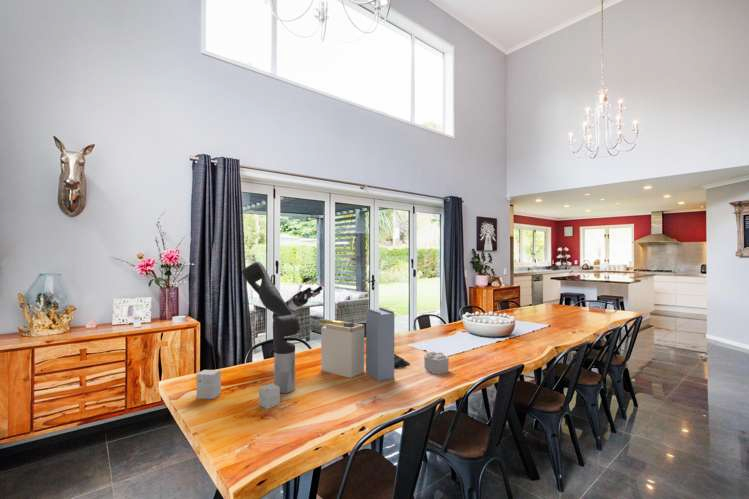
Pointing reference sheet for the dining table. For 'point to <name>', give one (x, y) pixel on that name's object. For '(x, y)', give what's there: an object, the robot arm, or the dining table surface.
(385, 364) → the post
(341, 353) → the upright beige carton
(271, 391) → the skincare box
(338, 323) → the pin
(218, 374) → the small box
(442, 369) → the lumpy-topped squat cylinder
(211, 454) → the dining table surface
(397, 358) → the dark slate chunk
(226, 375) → the dining table surface
